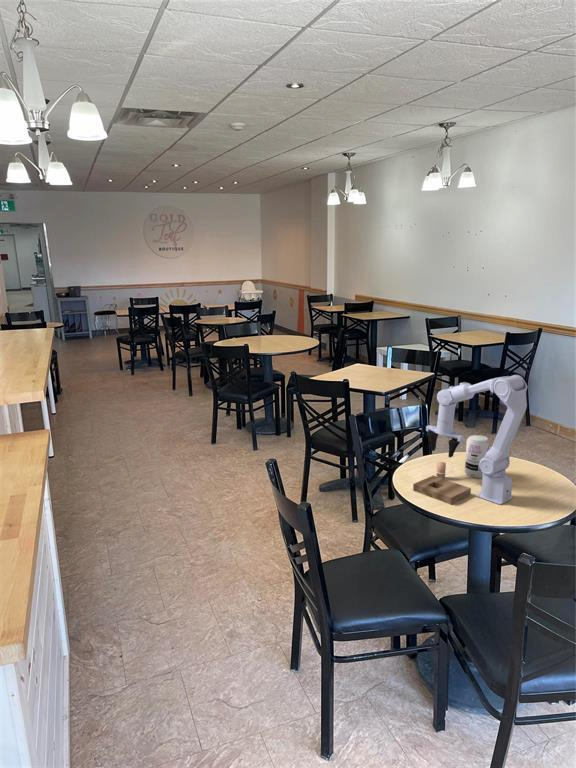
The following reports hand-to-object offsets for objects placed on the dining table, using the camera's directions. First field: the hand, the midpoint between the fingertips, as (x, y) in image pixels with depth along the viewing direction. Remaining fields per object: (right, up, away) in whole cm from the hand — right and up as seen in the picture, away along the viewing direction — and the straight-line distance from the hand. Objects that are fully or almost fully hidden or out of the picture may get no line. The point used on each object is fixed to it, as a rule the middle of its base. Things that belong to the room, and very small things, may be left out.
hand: (441, 453), depth 209 cm
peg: (0, -10, +2) cm, 10 cm away
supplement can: (+15, -9, +5) cm, 18 cm away
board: (-3, -13, -11) cm, 17 cm away
